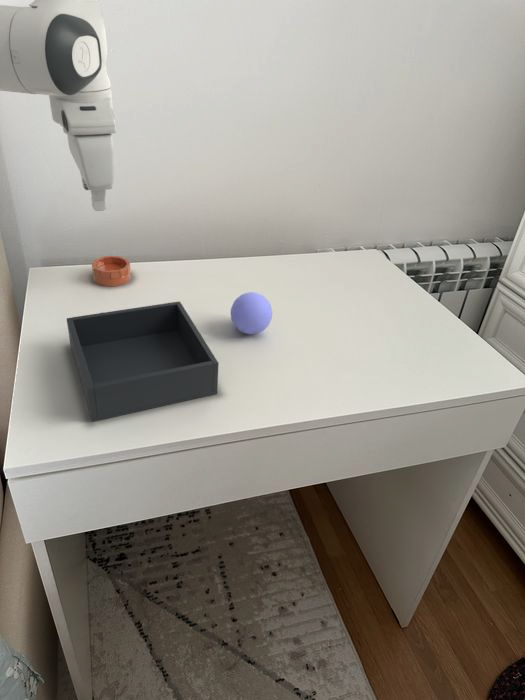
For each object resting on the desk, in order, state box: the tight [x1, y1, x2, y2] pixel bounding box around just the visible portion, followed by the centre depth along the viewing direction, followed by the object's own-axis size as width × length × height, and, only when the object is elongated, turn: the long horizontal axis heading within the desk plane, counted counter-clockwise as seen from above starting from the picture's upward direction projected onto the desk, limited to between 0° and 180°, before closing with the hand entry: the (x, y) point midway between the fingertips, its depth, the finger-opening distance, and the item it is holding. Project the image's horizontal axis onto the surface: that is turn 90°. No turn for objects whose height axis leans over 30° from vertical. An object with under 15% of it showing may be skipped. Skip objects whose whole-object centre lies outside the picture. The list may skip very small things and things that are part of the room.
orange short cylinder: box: [91, 255, 131, 287], centre depth 102 cm, size 7×7×3 cm
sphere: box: [230, 291, 273, 335], centre depth 89 cm, size 7×7×7 cm
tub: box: [66, 301, 219, 423], centre depth 78 cm, size 18×18×6 cm
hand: (94, 198), depth 87 cm, fingers open, 8 cm apart
